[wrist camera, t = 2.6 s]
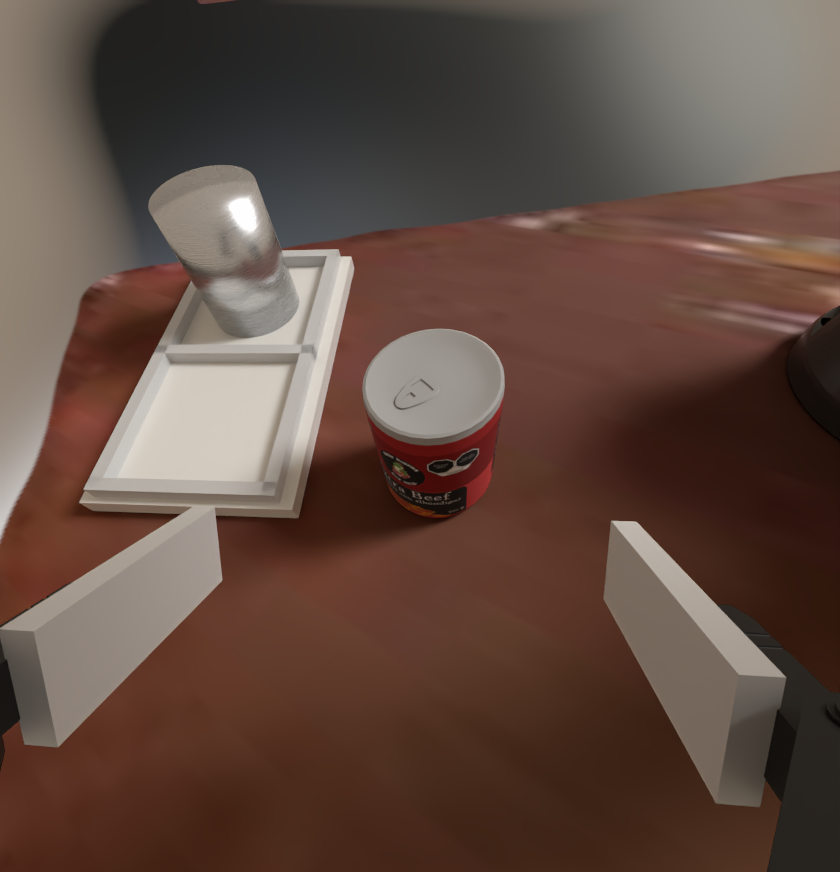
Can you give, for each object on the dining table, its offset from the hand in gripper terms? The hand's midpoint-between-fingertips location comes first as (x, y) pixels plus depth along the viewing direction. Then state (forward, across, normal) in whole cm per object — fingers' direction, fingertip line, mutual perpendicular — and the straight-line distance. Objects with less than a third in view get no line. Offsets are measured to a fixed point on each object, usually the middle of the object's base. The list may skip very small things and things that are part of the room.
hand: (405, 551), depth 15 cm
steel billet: (+29, -18, +10) cm, 36 cm away
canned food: (+19, 0, -3) cm, 19 cm away
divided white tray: (+26, -18, +4) cm, 31 cm away
